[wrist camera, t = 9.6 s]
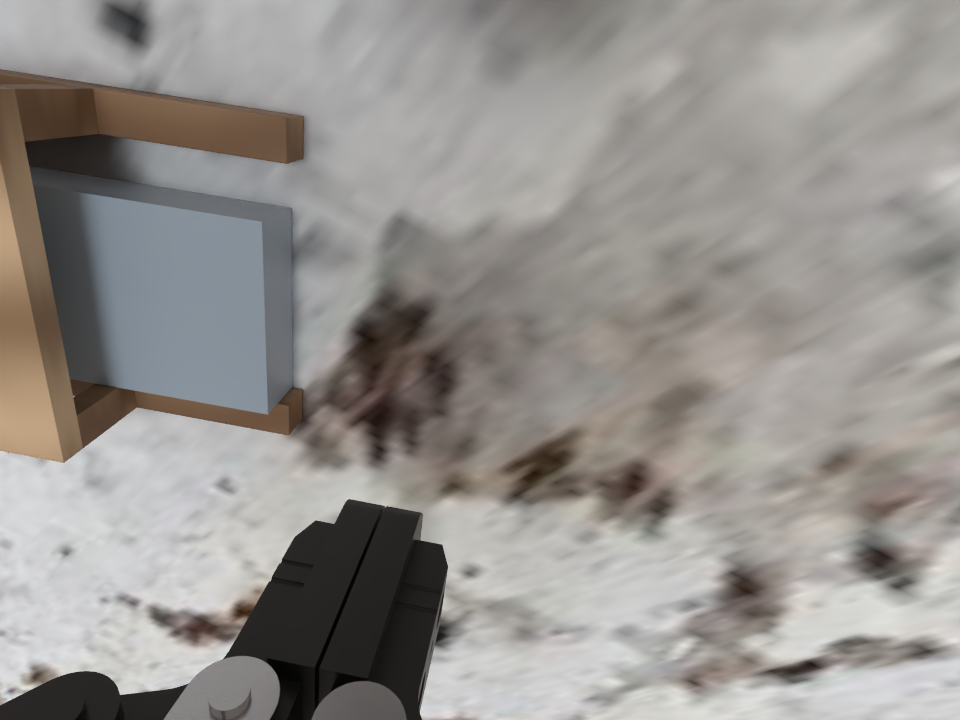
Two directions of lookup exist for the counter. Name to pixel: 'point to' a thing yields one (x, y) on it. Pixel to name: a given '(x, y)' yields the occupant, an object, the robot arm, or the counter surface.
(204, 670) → the robot arm
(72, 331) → the panel
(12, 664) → the counter surface
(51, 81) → the wooden frame
